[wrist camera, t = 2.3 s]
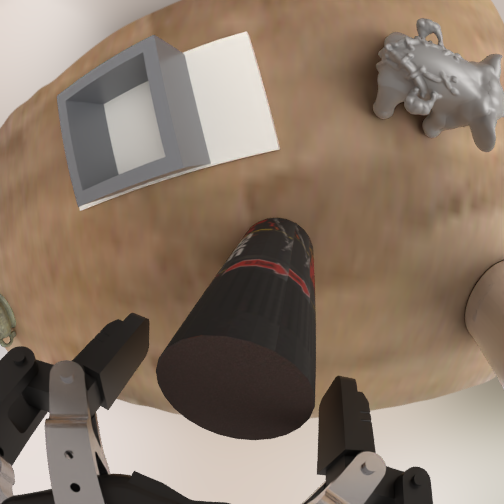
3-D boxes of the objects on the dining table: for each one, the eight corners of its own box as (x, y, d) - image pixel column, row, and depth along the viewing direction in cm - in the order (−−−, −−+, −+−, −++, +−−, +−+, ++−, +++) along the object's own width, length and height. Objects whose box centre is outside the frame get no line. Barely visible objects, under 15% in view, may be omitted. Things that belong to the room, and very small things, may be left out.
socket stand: (249, 35, 17) (230, 2, 11) (280, 149, 20) (270, 148, 14) (67, 120, 22) (24, 122, 16) (86, 208, 25) (45, 224, 19)
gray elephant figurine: (358, 36, 16) (372, -8, 9) (481, 56, 13) (526, 36, 6) (373, 143, 19) (400, 142, 12) (494, 155, 16) (547, 164, 9)
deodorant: (263, 203, 22) (186, 301, 8) (327, 243, 22) (351, 387, 8) (229, 263, 24) (142, 394, 10) (288, 297, 24) (261, 452, 10)
